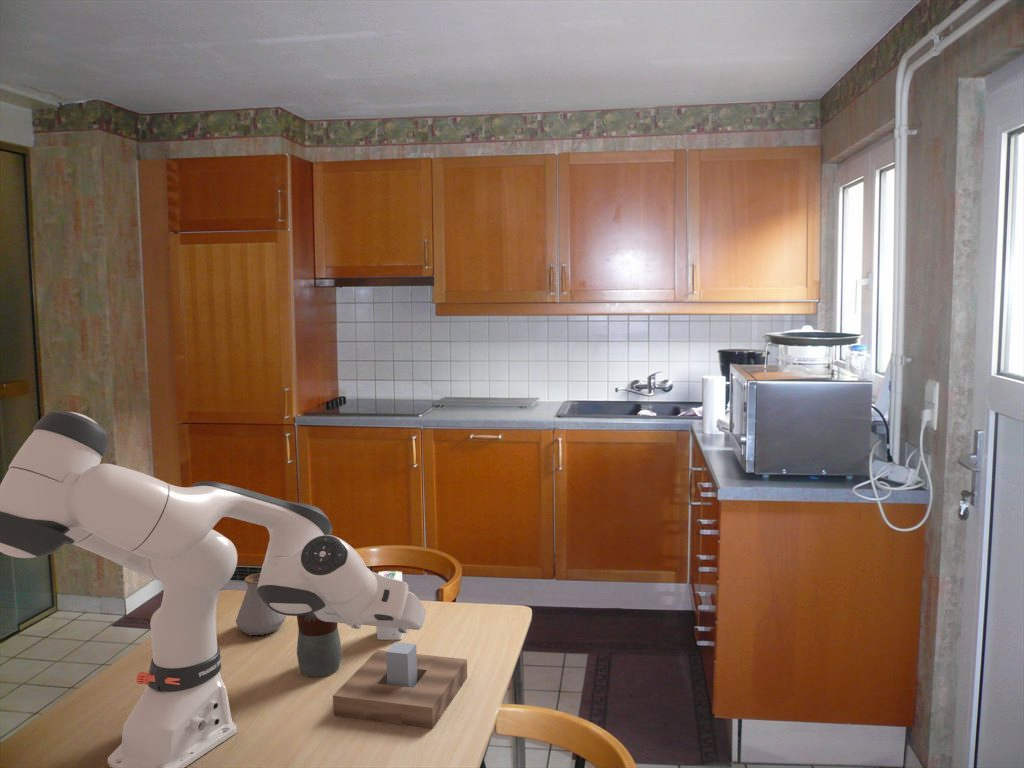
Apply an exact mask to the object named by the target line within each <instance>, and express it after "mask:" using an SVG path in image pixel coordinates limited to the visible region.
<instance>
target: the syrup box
mask: <svg viewBox="0 0 1024 768" xmlns="http://www.w3.org/2000/svg"><path fill="white" fill-rule="evenodd" d="M377 574H379V575H381V576H384V577H387V578H391V579H395V580H399V581H403V572H402V571H400V570H385V571H384V570H383V571H378V573H377ZM375 627H376V638H377V640H378V641H399V640H402V638H403V636H404V634H405V633H400V632H399V631H398V628H391V627H380V626H375Z"/></svg>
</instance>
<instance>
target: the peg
mask: <svg viewBox="0 0 1024 768" xmlns="http://www.w3.org/2000/svg"><path fill="white" fill-rule="evenodd" d="M385 651H386V666H387V685H394V686H402V687H411V688H414V686H415V685H416V684H417V682H418V680H417V654H418V653H417V643H409V642H398V641H395V642H393V644H392V645H391V646H390V647H388V649H387V650H385Z"/></svg>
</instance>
